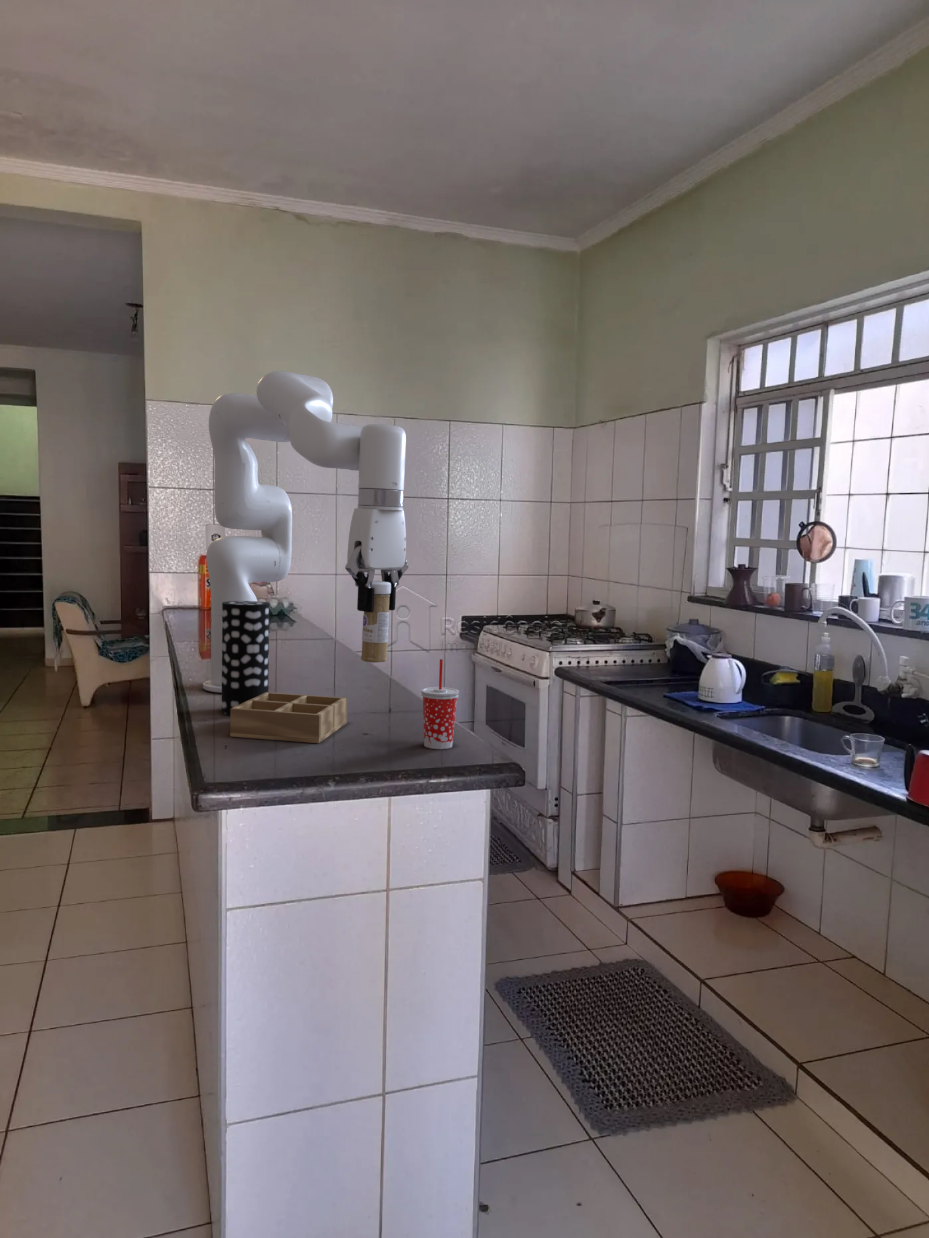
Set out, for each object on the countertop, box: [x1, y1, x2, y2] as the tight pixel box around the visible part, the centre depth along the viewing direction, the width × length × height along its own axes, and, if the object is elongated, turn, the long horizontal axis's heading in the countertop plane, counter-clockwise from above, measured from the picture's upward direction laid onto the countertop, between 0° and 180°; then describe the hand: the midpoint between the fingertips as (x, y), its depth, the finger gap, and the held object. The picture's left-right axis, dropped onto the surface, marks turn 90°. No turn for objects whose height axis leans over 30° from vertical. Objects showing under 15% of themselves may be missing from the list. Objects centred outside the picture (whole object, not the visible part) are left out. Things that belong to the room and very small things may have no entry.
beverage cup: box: [420, 658, 460, 750], centre depth 138 cm, size 6×6×14 cm
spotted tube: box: [221, 600, 270, 716], centre depth 158 cm, size 8×8×20 cm
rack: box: [229, 691, 348, 744], centre depth 146 cm, size 15×15×5 cm
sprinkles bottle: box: [360, 580, 391, 664], centre depth 145 cm, size 5×5×13 cm
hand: (376, 609), depth 145 cm, fingers closed on sprinkles bottle, 4 cm apart
